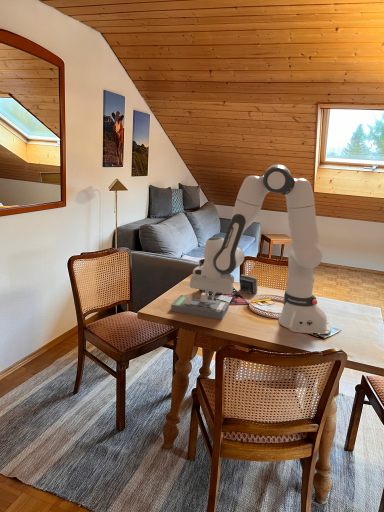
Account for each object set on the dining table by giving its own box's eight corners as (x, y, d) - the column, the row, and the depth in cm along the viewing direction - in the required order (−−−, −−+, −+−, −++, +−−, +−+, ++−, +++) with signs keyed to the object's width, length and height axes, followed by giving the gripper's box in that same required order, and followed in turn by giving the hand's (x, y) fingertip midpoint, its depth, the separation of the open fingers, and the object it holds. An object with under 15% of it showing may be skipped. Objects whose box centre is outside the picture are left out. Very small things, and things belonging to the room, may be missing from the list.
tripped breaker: (207, 300, 186) (207, 293, 185) (205, 302, 184) (206, 295, 183) (202, 299, 187) (202, 292, 186) (200, 301, 184) (201, 294, 183)
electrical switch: (257, 292, 212) (258, 276, 208) (253, 296, 207) (254, 279, 204) (241, 288, 216) (242, 273, 213) (237, 292, 212) (238, 276, 209)
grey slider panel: (228, 308, 187) (228, 302, 186) (221, 319, 174) (222, 313, 173) (180, 300, 193) (180, 294, 192) (170, 310, 180) (171, 304, 179)
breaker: (191, 302, 182) (192, 295, 181) (190, 304, 180) (190, 297, 179) (186, 302, 183) (187, 294, 182) (185, 303, 180) (185, 296, 179)
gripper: (235, 272, 181) (233, 300, 184) (193, 266, 186) (191, 293, 190) (233, 276, 175) (230, 305, 178) (189, 269, 180) (187, 298, 184)
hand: (210, 299), depth 184 cm, fingers closed
